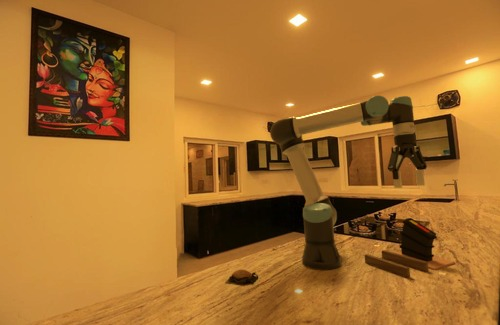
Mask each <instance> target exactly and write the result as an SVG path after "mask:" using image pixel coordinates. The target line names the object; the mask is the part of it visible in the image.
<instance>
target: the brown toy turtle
mask: <svg viewBox="0 0 500 325" xmlns="http://www.w3.org/2000/svg"><path fill="white" fill-rule="evenodd" d="M258 279H259V275H258V274H257V273H256V272H252V273H251V271H248V270H247V269H237V270H235V271H234V272H233V273H232V274H231V275H230V276H229V278H228V279H226V280H225V284H227V285H228V284H231V285H241V286H250V285H254V284H255V283H257V282H256V281H258Z"/></svg>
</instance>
